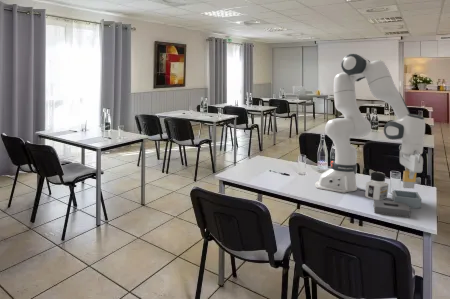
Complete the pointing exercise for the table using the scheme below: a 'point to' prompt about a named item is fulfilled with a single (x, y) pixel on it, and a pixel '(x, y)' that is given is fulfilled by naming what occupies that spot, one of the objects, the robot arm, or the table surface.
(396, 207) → the block
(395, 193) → the parts tray
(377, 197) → the container
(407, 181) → the fuse
